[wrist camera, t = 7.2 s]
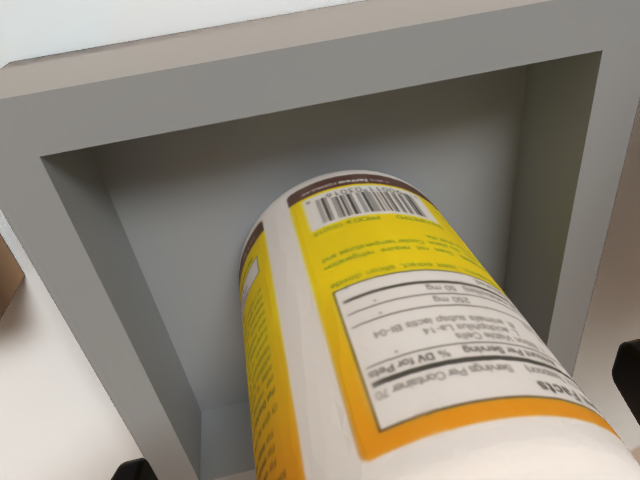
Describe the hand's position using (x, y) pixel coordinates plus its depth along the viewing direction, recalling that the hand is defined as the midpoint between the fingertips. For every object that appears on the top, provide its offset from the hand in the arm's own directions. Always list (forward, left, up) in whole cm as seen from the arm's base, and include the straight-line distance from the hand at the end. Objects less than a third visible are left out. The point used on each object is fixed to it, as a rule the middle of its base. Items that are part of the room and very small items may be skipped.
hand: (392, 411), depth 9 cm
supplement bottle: (0, 0, -5) cm, 5 cm away
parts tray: (0, 0, -6) cm, 6 cm away
